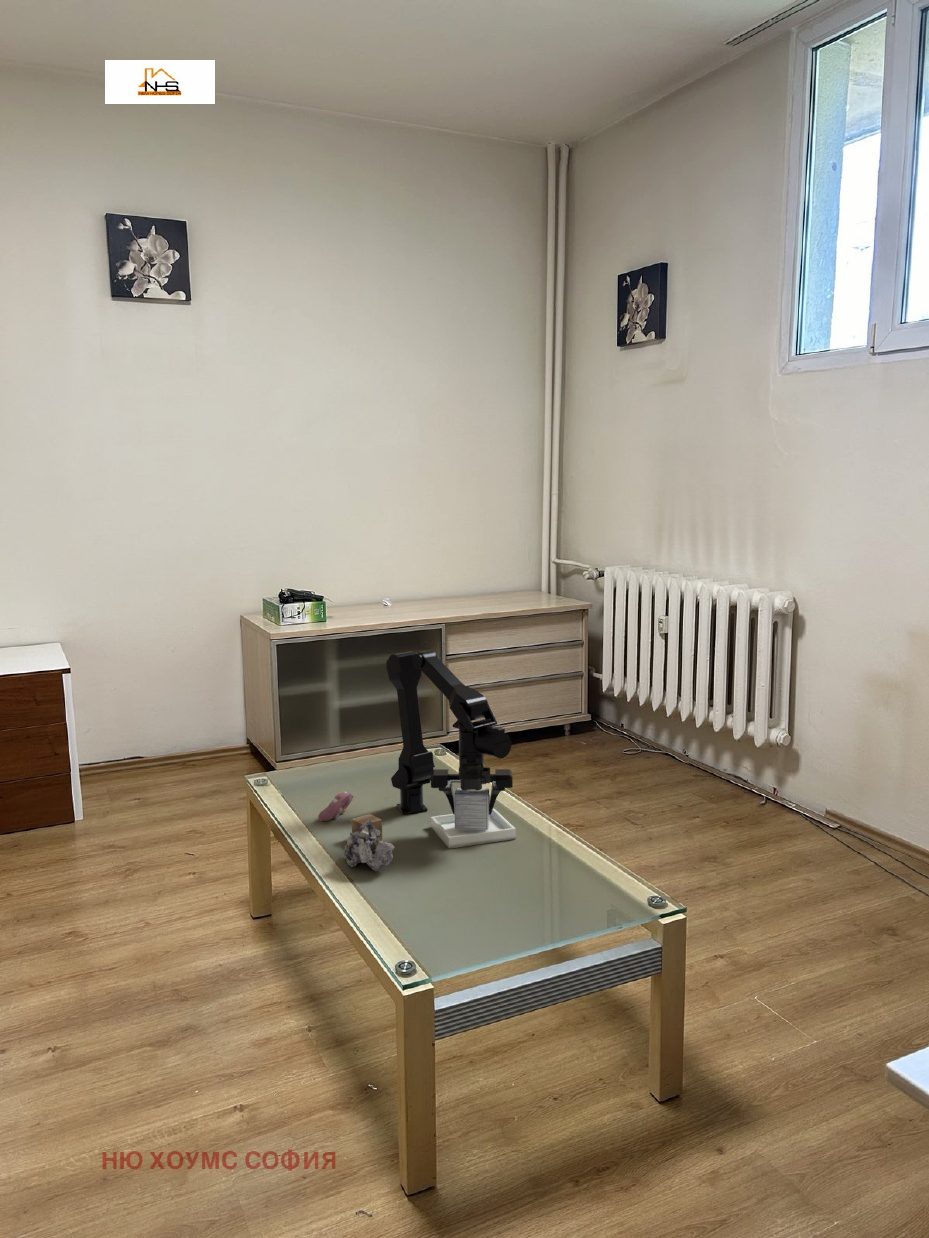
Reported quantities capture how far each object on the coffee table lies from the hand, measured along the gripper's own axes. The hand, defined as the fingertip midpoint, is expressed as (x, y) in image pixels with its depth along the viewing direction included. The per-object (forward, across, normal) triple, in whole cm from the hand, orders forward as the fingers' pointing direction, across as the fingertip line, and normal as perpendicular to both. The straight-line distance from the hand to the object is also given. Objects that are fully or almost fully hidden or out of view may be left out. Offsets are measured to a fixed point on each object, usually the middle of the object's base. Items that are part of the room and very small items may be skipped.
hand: (472, 814), depth 214 cm
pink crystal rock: (+5, -34, +12) cm, 36 cm away
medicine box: (+3, 0, 0) cm, 3 cm away
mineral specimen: (+5, -22, -18) cm, 29 cm away
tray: (+4, 0, 0) cm, 5 cm away
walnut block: (+5, -24, -4) cm, 25 cm away
